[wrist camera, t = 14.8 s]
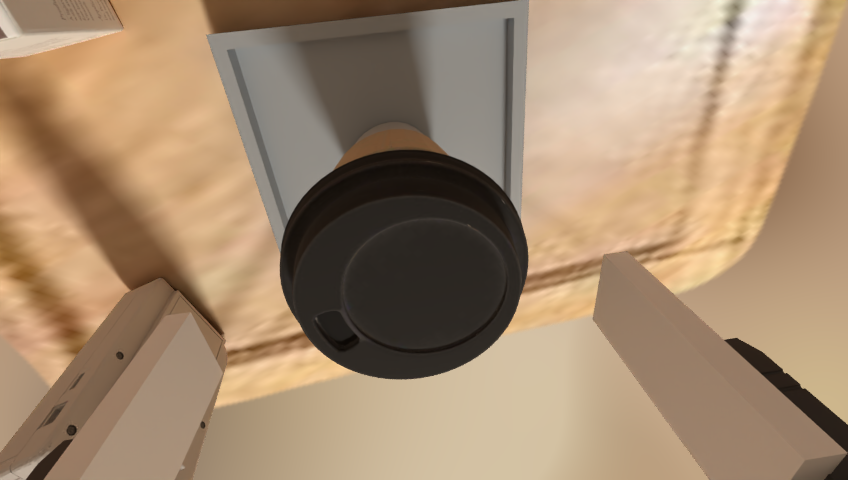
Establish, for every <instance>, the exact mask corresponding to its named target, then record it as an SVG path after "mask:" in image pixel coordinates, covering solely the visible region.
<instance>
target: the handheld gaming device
mask: <svg viewBox="0 0 848 480" xmlns="http://www.w3.org/2000/svg"><path fill="white" fill-rule="evenodd" d="M187 312H191V314H192V316H193V317H194V319H195V321H196V323H197V325H198V327H199V329H200V331H201V332H202V334H203V336H204V338H205V340H206V342H207V344H208V346H209V347H210V349H211V351H212V353H213V355H214V357H215V359H216V361H217V362H218V364H219V366H220V368H221V370H222V372H223V374H222V377H221V379H220V381H219V383H218V385H217V388H216V390H215V392H214V394H213V396H212V399H211V401H210V403H209V405H208V408H207V410H206V412H205V414H204V416H203V419H202V421H201V423H200V425H199V427H198V430H197V432H196V434H195V436H194V438H193V441H192V443H191V445H190V447H189V450H188V452H187V454H186V456H185V458H184V461H183V463H182V465H181V467H180V469H179V472H178V474H177V476H176V478H175V480H193V477H194V474H195V470H196V467H197V463H198V459H199V456H200V453H201V449H202V446H203V443H204V439H205V436H206V433H207V429H208V426H209V423H210V419H211V416H212V412H213V409H214V406H215V402H216V399H217V395H218V392H219V389H220V385H221V382H222V378H223V375H224V372H225V368H226V365H227V352H226V348H225V346H224V344H225V341H226V340H225V339H224V338H223V337H222V336H221V335H220V334H219V333H218V332H217V331H216V330H215V329H214V328H213V327H212V326H211V325H210V324H209V322H208V321H207V320H206V319H205V318H204V317H203V316H202V315H201V314H200V313H199V312H198V311H197V310H196V309H195V308H194V307H193V306H192V304H191V303H190V302H189V301H188V300H187V299H186V298H185V297H184V296H183V295H182V294H181V293H180V292H179V291H178V290H177V291H174V289H173V288H172V287H171V286H170V285H169V284H168V283H167V282H166V281H165V280H164V279H163V278H158V279H156V280H154V281H152V282H150V283H147V284H145V285H143V286H141V287H139V288H136V289H134V290H132V291H130V292H128V293H126V294H125V295H124V296H123V297H122V298H121V300H120V301H119V302H118V304H117V305H116V306H115V307H114V309H113V310H112V311H111V312H110V314H109V315H108V316H107V318H106V319H105V320H104V321H103V323H102V324H101V325H100V326H99V328H98V329H97V330H96V332H95V333H94V334H93V335H92V337H91V338H90V339H89V340H88V342H87V343H86V344H85V346H84V347H83V348H82V349H81V351H80V352H79V353H78V354H77V356H76V357H75V358H74V360H73V361H72V362H71V363H70V365H69V366H68V367H67V368H66V370H65V371H64V372H63V374H62V375H61V376H60V377H59V379H58V380H57V381H56V382H55V384H54V385H53V386H52V388H51V389H50V390H49V391H48V393H47V394H46V395H45V396H44V398H43V399H42V400H41V402H40V403H39V404H38V405H37V407H36V408H35V409H34V410H33V412H32V413H31V414H30V416H29V417H28V418H27V419H26V421H25V422H24V423H23V424H22V426H21V427H20V428H19V430H18V431H17V432H16V433H15V435H14V436H13V437H12V439H11V440H10V441H9V442H8V444H7V445H6V446H5V447H4V449H3V450H2V451H1V452H0V480H26V478H27V477H28V476H29V475H30V473H31V472H32V471H33V469H34V468H35V467H36V466H37V464H38V463H39V462H40V461H41V460H43V459H44V458H45V457H46V456H47V455H48V454H49V453H50V452H52V451H53V450H54V449H55V448H56V447H57V446H58V445H59V444H61V443H62V442H63V441H64V440H70V439H74V438H75V437H76V435H77V434H78V433H79V431H80V430H81V429H82V427H83V426H84V424H85V423H86V422H87V420H88V419H89V418H90V416H91V415H92V414H93V412H94V411H95V410H96V408H97V407H98V406H99V404H100V403H101V402H102V400H103V399H104V398H105V396H106V395H107V393H108V392H109V391H110V389H111V388H112V387H113V385H114V384H115V383H116V381H117V380H118V379H119V377H120V376H121V375H122V373H123V372H124V371H125V369H126V368H127V367H128V365H129V364H130V362H131V361H132V360H133V358H134V357H135V356H136V354H137V353H138V352H139V350H140V349H141V348H142V346H143V345H144V344H145V342H146V341H147V340H148V338H149V337H150V336H151V334H152V333H153V331H154V330H155V329H156V327H157V326H158V325H159V323H160V322H161V321H162V319H163V318H164V317H165V315H173V314H180V313H187Z"/></svg>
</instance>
